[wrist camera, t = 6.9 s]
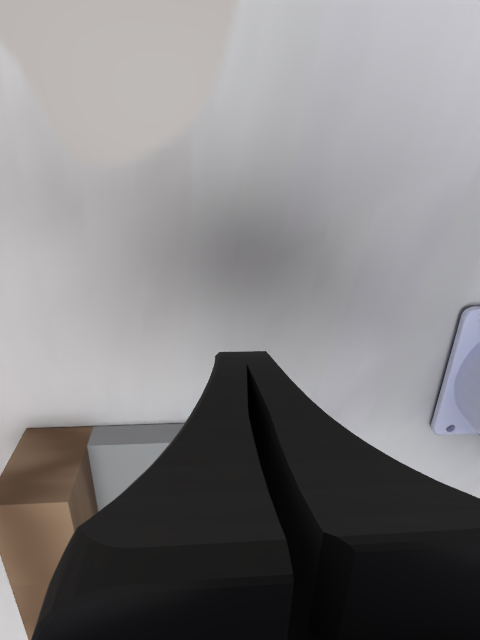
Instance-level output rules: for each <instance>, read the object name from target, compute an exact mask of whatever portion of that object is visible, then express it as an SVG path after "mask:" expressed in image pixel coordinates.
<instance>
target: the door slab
mask: <svg viewBox="0 0 480 640" xmlns="http://www.w3.org/2000/svg"><path fill="white" fill-rule="evenodd" d="M184 424H185V423H182V424H152V425H121V426H94V427H93V430H92V433H91V436H90V439H89V442H88V445H87V449H88V454H89V460H90V466H91V472H92V478H93V484H94V490H95V495H96V501H97V507H98V512H99V511H100V510H101V509H103V508H104V507H105V506H106V505H108V504H109V503H110V502H112V501H113V500H114V499H115V498H117V497H118V496H119V495H120V494H121V493H122V492H123V491H125V490H126V489H127V488H128V487H129V486H130V485H131V484H132V483H133V482H134V481H135V480H136V479H137V478H138V477H139V476H140V475H142V474H143V473H144V472H145V471H146V470H147V469H148V468H149V467H150V466H151V465H152V464H153V462H154V461H155V460H156V459H157V458H158V457H159V456H160V455H161V453H162V452H163V451H164V450H165V449H166V448H167V446H168V445H169V444H170V443H171V442H172V440H173V439H174V438H175V436H176V435H177V434H178V432H179V431H180V430H181V428H182V427H183V426H184Z"/></svg>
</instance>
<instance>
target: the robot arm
mask: <svg viewBox="0 0 480 640" xmlns="http://www.w3.org/2000/svg"><path fill="white" fill-rule="evenodd" d="M479 318H480V306H473V307H469V308H467V309H466V310H465V311H464V312H463V313H462V316H461V319H460V323H459V326H458V330H457V334H456V337H455V341H454V344H453V348H452V352H451V355H450V359H449V362H448V366H447V370H446V373H445V377H444V380H443V384H442V388H441V391H440V395H439V398H438V402H437V406H436V409H435V413H434V416H433V420H432V424H431V429H432V430H433V432H434V433H435V434H437V435H455V434H479V435H480V319H479ZM449 425H451V426H449ZM448 426H449V427H448ZM31 640H480V499H479V498H477V497H475V496H472V495H470V494H467V493H465V492H462V491H460V490H458V489H455V488H453V487H450V486H448V485H445V484H443V483H441V482H439V481H436V480H434V479H432V478H430V477H428V476H426V475H424V474H422V473H420V472H418V471H416V470H414V469H412V468H410V467H408V466H406V465H404V464H402V463H401V462H399V461H397V460H395V459H393V458H391V457H390V456H388V455H386V454H385V453H383V452H381V451H380V450H378V449H376V448H375V447H373V446H371V445H370V444H368V443H366V442H365V441H363V440H362V439H360V438H359V437H357V436H356V435H354V434H353V433H352V432H350V431H349V430H347V429H346V428H345V427H343V426H342V425H341V424H339V423H338V422H336V421H335V420H334V419H333V418H331V417H330V416H329V415H328V414H326V413H325V412H324V411H323V410H322V409H321V408H319V407H318V406H317V405H316V404H315V403H314V402H313V401H312V400H311V399H309V398H308V397H307V396H306V395H305V394H304V393H303V392H302V391H301V390H300V389H299V388H298V387H297V386H296V384H295V383H294V382H293V381H292V380H291V379H290V378H289V377H288V376H287V375H286V374H285V373H284V371H283V370H282V369H281V368H280V367H279V366H278V365H277V363H276V362H275V361H274V360H273V359H272V357H271V356H270V355H269V354H268V353H267V352H266V351H254V352H219V353H218V354H217V355H216V356H215V363H214V367H213V371H212V373H211V376H210V379H209V381H208V383H207V385H206V387H205V389H204V392H203V394H202V396H201V398H200V399H199V401H198V403H197V405H196V406H195V408H194V410H193V411H192V413H191V415H190V416H189V418H188V420H187V421H186V423H185V424H184V426H183V427H182V428H181V430H180V431H179V432H178V434H177V435H176V436H175V438H174V439H173V440H172V442H171V443H170V444H169V445H168V446H167V448H166V449H165V450H164V451H163V452H162V453H161V455H160V456H159V457H158V458H157V459H156V460H155V461H154V462H153V464H152V465H151V466H150V467H149V468H148V469H147V470H146V471H145V472H144V473H143V474H142V475H140V476H139V477H138V478H137V479H136V480H135V481H134V482H133V483H132V484H131V485H130V486H129V487H128V488H127V489H126V490H125V491H123V492H122V493H121V494H120V495H119V496H118V497H117V498H115V499H114V500H113V501H112V502H110V503H109V504H108V505H106V506H105V507H104V508H103V509H101V510H100V511H99V512H97V513H96V514H95V515H93V516H92V517H91V518H90V519H88V520H87V521H85V522H84V523H83V524H81V525H80V526H78V527H77V528H76V530H75V532H74V534H73V535H72V537H71V539H70V541H69V543H68V545H67V547H66V549H65V551H64V552H63V555H62V557H61V559H60V561H59V563H58V565H57V567H56V570H55V572H54V574H53V576H52V579H51V581H50V583H49V586H48V588H47V591H46V594H45V597H44V600H43V604H42V607H41V610H40V613H39V616H38V620H37V623H36V626H35V629H34V632H33V636H32V639H31Z"/></svg>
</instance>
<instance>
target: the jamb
mask: <svg viewBox="0 0 480 640" xmlns="http://www.w3.org/2000/svg"><path fill="white" fill-rule="evenodd" d="M93 427H94V426H91V427H60V428H30V429H26V430H25V432H24V434H23V436H22V438H21V440H20V441H19V443H18V445H17V447H16V449H15V450H14V452H13V454H12V456H11V458H10V460H9V461H8V463H7V465H6V467H5V469H4V471H3V472H2V474H1V476H0V555H1V558H2V561H3V564H4V567H5V570H6V573H7V576H8V579H9V582H10V585H11V588H12V591H13V594H14V597H15V600H16V603H17V606H18V609H19V612H20V615H21V618H22V621H23V624H24V627H25V630H26V633H27V636H28V639H29V640H31V639H32V636H33V632H34V629H35V626H36V623H37V620H38V616H39V613H40V610H41V607H42V604H43V600H44V597H45V594H46V591H47V588H48V586H49V583H50V581H51V579H52V576H53V574H54V572H55V570H56V567H57V565H58V563H59V561H60V559H61V557H62V555H63V552H64V551H65V549H66V547H67V545H68V543H69V541H70V539H71V537H72V535H73V534H74V532H75V530H76V528H77V527H78V526H80V525H81V524H83V523H84V522H85V521H87V520H88V519H90V518H91V517H92V516H93V515H95V514H96V513H97V512H98V507H97V501H96V495H95V490H94V484H93V478H92V472H91V466H90V460H89V454H88V449H87V445H88V442H89V439H90V436H91V433H92V430H93Z"/></svg>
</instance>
